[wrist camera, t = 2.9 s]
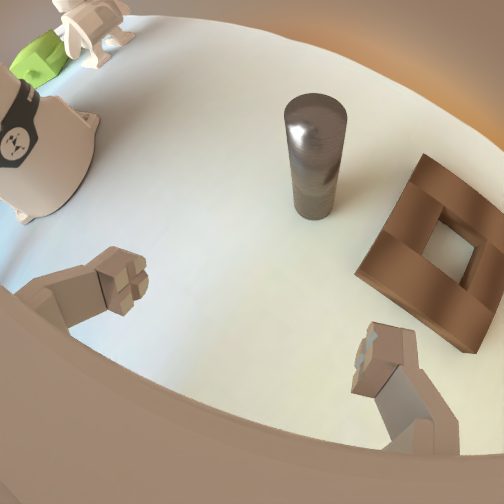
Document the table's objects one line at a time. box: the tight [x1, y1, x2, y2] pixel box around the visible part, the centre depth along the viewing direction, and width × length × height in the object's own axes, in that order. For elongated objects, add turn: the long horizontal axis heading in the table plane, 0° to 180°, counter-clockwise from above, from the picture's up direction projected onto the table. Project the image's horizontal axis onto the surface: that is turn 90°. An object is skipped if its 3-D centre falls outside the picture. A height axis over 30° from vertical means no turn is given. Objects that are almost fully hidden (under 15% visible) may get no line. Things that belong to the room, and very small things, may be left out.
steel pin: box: [284, 93, 347, 220], centre depth 20 cm, size 4×4×12 cm
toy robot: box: [52, 0, 135, 69], centre depth 31 cm, size 14×9×20 cm, turn 144°
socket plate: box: [354, 153, 504, 354], centre depth 22 cm, size 13×13×2 cm
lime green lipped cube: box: [9, 29, 69, 89], centre depth 40 cm, size 18×10×10 cm, turn 92°
